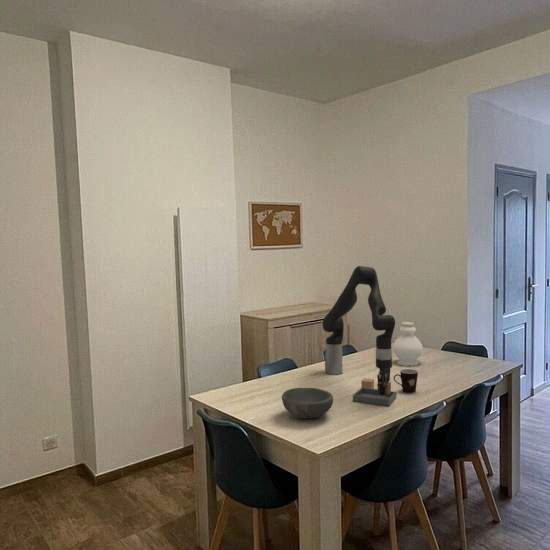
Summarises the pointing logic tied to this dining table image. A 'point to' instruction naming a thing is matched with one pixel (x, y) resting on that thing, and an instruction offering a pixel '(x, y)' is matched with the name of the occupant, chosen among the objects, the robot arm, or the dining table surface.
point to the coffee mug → (408, 380)
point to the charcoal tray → (373, 397)
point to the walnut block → (387, 388)
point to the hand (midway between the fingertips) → (384, 392)
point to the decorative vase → (407, 345)
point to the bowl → (307, 402)
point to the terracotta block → (367, 383)
